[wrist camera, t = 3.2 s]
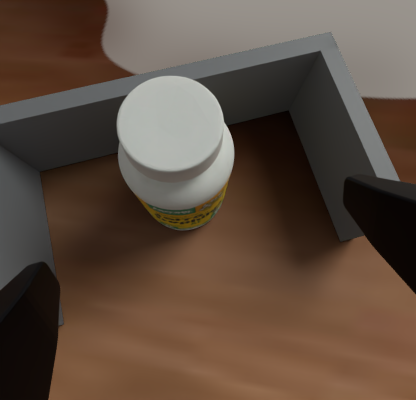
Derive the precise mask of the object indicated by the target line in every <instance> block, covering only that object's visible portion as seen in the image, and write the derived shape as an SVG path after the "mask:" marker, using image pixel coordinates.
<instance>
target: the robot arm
mask: <svg viewBox="0 0 416 400" xmlns="http://www.w3.org/2000/svg"><path fill="white" fill-rule="evenodd" d="M343 205H344V207H345V209H346V210H347V211H348V213H349V214H350V216H351V217H352V218H353V220H354V221H355V223H356V224H357V225H358V227H359V228H360V230H361V231H362V232H363V234H364V235H365V236H366V238H367V239H368V241H369V242H370V243H371V244H372V246H373V247H374V248H375V249H376V250H377V251H378V253H379V254H380V255H381V256H382V257H383V258H384V259H385V260H386V262H387V263H388V264H389V265H390V266H391V267H392V268H393V269H394V270H395V272H396V273H397V274H398V275H399V276H400V277H401V278H402V279H403V281H404V282H405V283H406V284H407V285H408V286H409V287H410V288H411V289H412V291H413V292H414V293H415V294H416V184H411V183H406V182H400V181H395V180H390V179H384V178H379V177H374V176H369V175H363V174H356V175H352V176H348V177H346V178H345V180H344V187H343ZM59 303H60V285H59V282H58V280H57V278H56V277H55V275H54V274H53V272H52V270H51V269H50V267H49V266H48V264H47V263H46V262H43V261H41V262H37V263H33V264H30V265H28V266H26V267H25V268H24V269H23V270H22V271H21V272H20V273H19V274H18V275H16V276H15V277H14V278H13V279H12V280H11V281H10V282H9V283H8V284H7V285H5V286H4V287H3V288H2V289H1V290H0V400H48V398H49V392H50V386H51V380H52V373H53V367H54V361H55V355H56V349H57V341H58V327H59Z"/></svg>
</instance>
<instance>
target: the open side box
mask: <svg viewBox="0 0 416 400" xmlns="http://www.w3.org/2000/svg"><path fill="white" fill-rule="evenodd" d="M161 76H180V77H186V78H189V79H192V80H194V81H196V82H198V83H200V84H202V85H203V86H205V87H206V88H207V89H208V90H209V91H210V92H211V93H212V94H213V95H214V96H215V98H216V99H217V101H218V103H219V105H220V107H221V110H222V113H223V118H224V123H225V124H226V126H227V125H231V124H235V123H239V122H243V121H247V120H251V119H255V118H259V117H264V116H268V115H272V114H276V113H280V112H284V111H288V110H289V112H290V115H291V117H292V120H293V123H294V125H295V128H296V130H297V133H298V135H299V138H300V140H301V143H302V145H303V148H304V151H305V153H306V156H307V158H308V161H309V163H310V166H311V168H312V171H313V173H314V176H315V179H316V181H317V184H318V186H319V189H320V191H321V194H322V196H323V199H324V201H325V204H326V207H327V209H328V212H329V214H330V217H331V219H332V222H333V224H334V227H335V229H336V232H337V235H338V237H339V240H340V242H341V241H345V240H349V239H353V238H357V237H360V236H364V234H363V232H362V231H361V230H360V228H359V227H358V225H357V224H356V223H355V221H354V220H353V218H352V217H351V216H350V214H349V213H348V211H347V210H346V209H345V207H344V205H343V187H344V180H345V178H346V177H348V176H352V175H356V174H363V175H369V176H374V177H379V178H384V179H390V180H395V181H400V180H399V178H398V176H397V174H396V171H395V169H394V167H393V165H392V163H391V161H390V159H389V156H388V154H387V152H386V150H385V148H384V146H383V143H382V141H381V139H380V137H379V135H378V133H377V130H376V128H375V126H374V124H373V122H372V120H371V118H370V115H369V113H368V111H367V109H366V107H365V105H364V102H363V100H362V98H361V96H360V94H359V92H358V90H357V87H356V85H355V83H354V81H353V79H352V77H351V74H350V72H349V70H348V68H347V66H346V64H345V61H344V59H343V57H342V55H341V53H340V51H339V49H338V46H337V44H336V42H335V40H334V38H333V36H332V33H331V32H329V33H324V34H319V35H315V36H310V37H306V38H302V39H297V40H293V41H288V42H284V43H279V44H275V45H270V46H265V47H261V48H256V49H252V50H248V51H243V52H239V53H234V54H229V55H225V56H220V57H216V58H212V59H207V60H203V61H198V62H194V63H189V64H185V65H181V66H176V67H171V68H167V69H162V70H158V71H153V72H149V73H144V74H140V75H135V76H131V77H126V78H122V79H117V80H113V81H108V82H104V83H99V84H95V85H90V86H86V87H81V88H77V89H72V90H68V91H63V92H59V93H54V94H50V95H46V96H41V97H37V98H32V99H28V100H23V101H19V102H14V103H10V104H5V105H1V106H0V290H1V289H2V288H3V287H4V286H5V285H7V284H8V283H9V282H10V281H11V280H12V279H13V278H14V277H15V276H16V275H18V274H19V273H20V272H21V271H22V270H23V269H24V268H25V267H26V266H28V265H30V264H33V263H37V262H41V261H43V262H46V263H47V264H48V266H49V267H50V269H51V270H52V272H53V274H54V275H55V277H56V272H55V265H54V259H53V253H52V247H51V240H50V234H49V228H48V221H47V215H46V209H45V203H44V196H43V190H42V184H41V178H40V172H41V171H45V170H49V169H53V168H57V167H61V166H65V165H69V164H73V163H77V162H81V161H85V160H89V159H93V158H97V157H102V156H106V155H110V154H114V153H118V148H119V142H120V141H119V138H118V134H117V116H118V112H119V109H120V107H121V105H122V103H123V101H124V100H125V98H126V97H127V96H128V94H129V93H130V92H131V91H132V90H133V89H135V88H136V87H137V86H138V85H140V84H142V83H144V82H145V81H148V80H150V79H153V78H157V77H161ZM63 324H64V322H63V316H62V309H61V303H59V326H60V325H63Z"/></svg>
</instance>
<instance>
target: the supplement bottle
mask: <svg viewBox="0 0 416 400" xmlns="http://www.w3.org/2000/svg"><path fill="white" fill-rule="evenodd" d="M117 134H118V138H119V141H120V142H119V148H118V161H119V167H120V170H121V173H122V176H123V178H124V180H125V182H126V183H127V185H128V186H129V188H130V189H131V190H132V192H133V193H134V194H135V195H136V197H137V198H138V199H139V200H140V202H141V203H142V204H143V205H144V207H145V208H146V209H147V211H148V212H149V213H150V214H151V215H152V216H153V217H154V218H155V219H156V220H157V221H158V222H160V223H161V224H163V225H165V226H167V227H169V228H172V229H175V230H191V229H195V228H198V227H200V226H202V225H204V224H206V223H207V222H209V221H210V220H211V219H212V218H213V217H214V216H215V214H216V213H217V211H218V210H219V208H220V206H221V204H222V202H223V199H224V195H225V192H226V188H227V185H228V182H229V178H230V175H231V171H232V168H233V163H234V145H233V140H232V137H231V134H230V132H229V129H228V128H227V126H226V124H225V123H224V118H223V113H222V110H221V107H220V105H219V103H218V101H217V99H216V98H215V96H214V95H213V94H212V93H211V92H210V91H209V90H208V89H207V88H206V87H205V86H203V85H202V84H200V83H198V82H196V81H194V80H192V79H189V78H186V77H180V76H161V77H157V78H153V79H150V80H148V81H145V82H144V83H142V84H140V85H138V86H137V87H136V88H135V89H133V90H132V91H131V92H130V93H129V94H128V96H127V97H126V98H125V100H124V101H123V103H122V105H121V107H120V109H119V112H118V116H117Z"/></svg>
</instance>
